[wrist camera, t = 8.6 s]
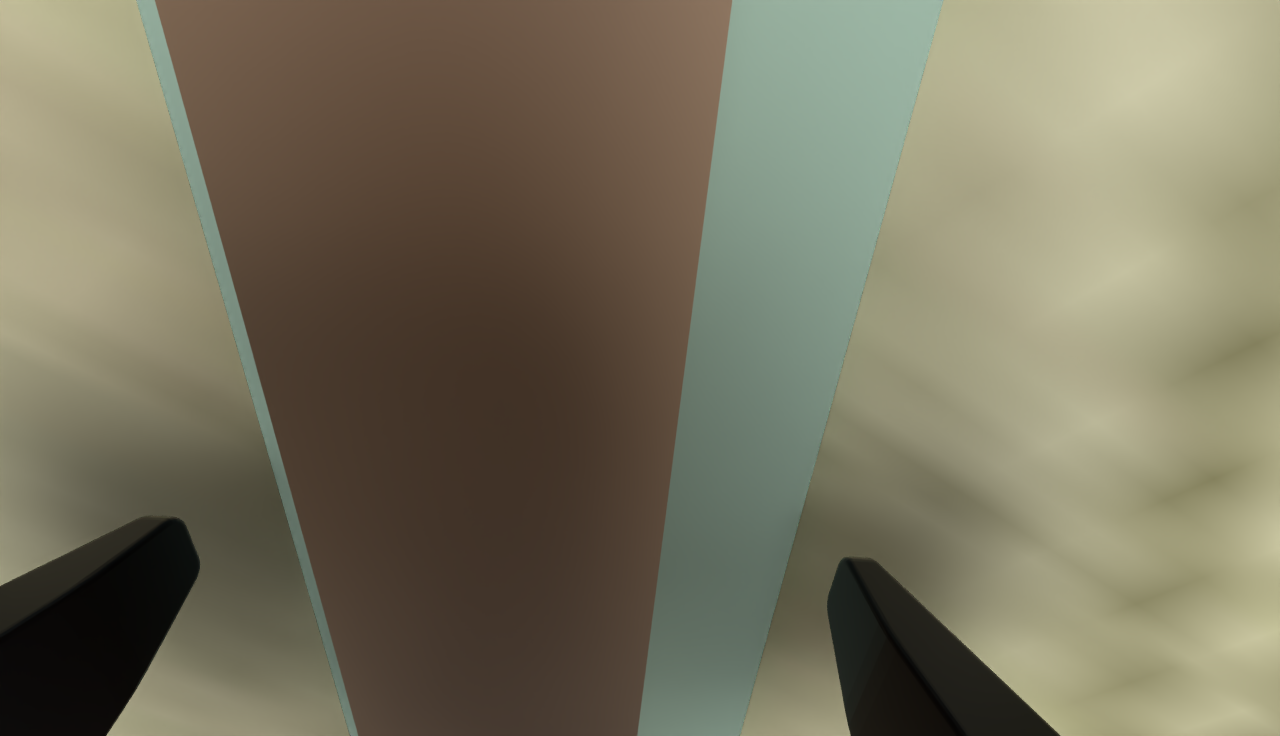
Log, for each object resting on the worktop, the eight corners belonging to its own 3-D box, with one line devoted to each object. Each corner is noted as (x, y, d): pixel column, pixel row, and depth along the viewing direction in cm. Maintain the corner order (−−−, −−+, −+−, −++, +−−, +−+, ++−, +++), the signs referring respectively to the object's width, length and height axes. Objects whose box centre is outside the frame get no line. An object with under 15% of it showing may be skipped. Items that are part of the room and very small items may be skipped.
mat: (383, 793, 16) (374, 818, 15) (-63, -893, 4) (-159, -1020, 4) (710, 807, 16) (712, 834, 16) (1116, -739, 5) (1175, -841, 4)
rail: (472, 782, 14) (425, 980, 11) (319, -499, 5) (-250, -1462, 2) (613, 789, 15) (605, 987, 11) (739, -449, 5) (897, -1278, 2)
